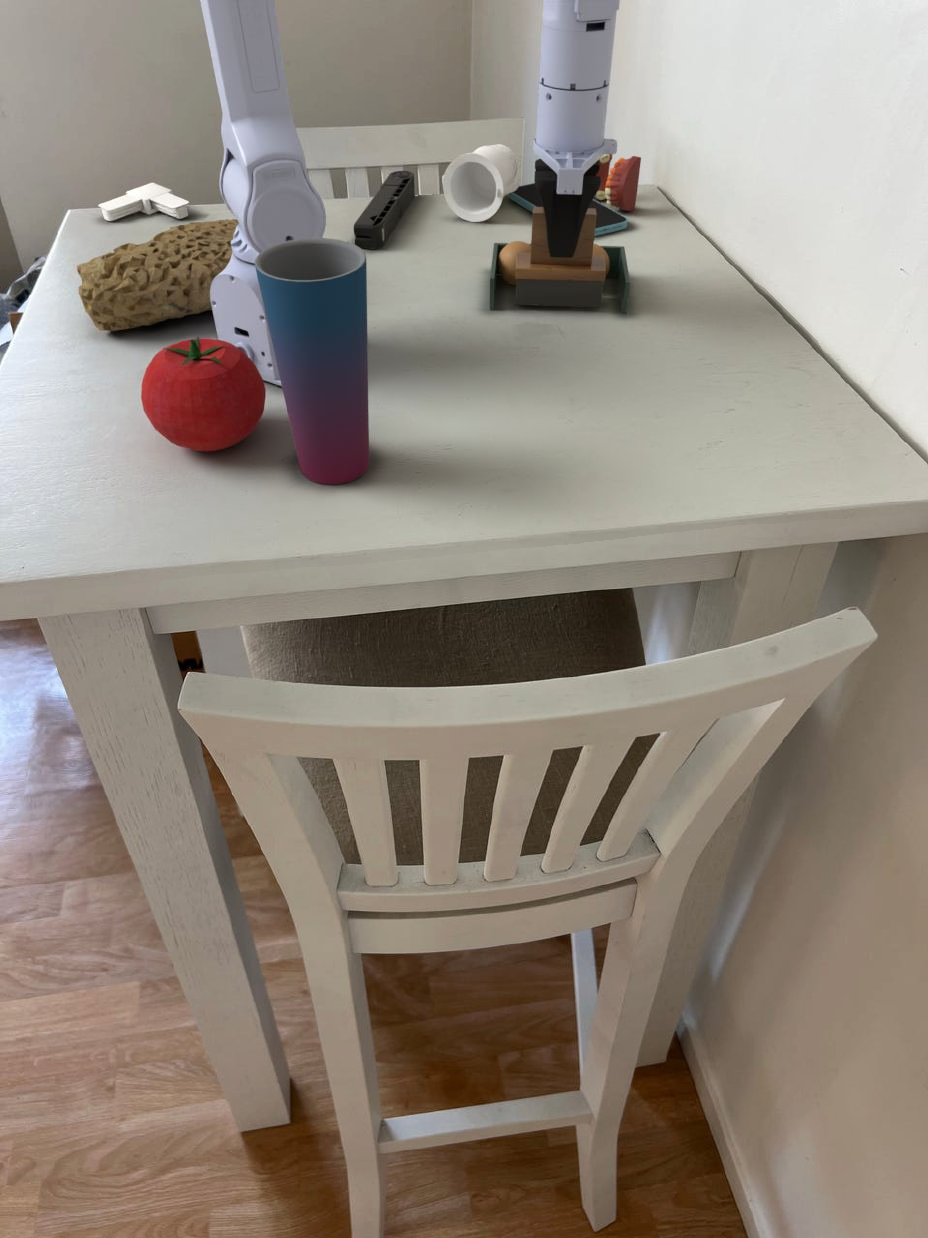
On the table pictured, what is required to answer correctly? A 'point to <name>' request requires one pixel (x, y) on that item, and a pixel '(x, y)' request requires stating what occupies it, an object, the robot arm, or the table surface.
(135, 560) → the table surface
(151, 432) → the table surface
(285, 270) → the cup
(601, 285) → the brush
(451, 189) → the downlight
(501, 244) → the green u-shaped pusher
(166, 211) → the corner connector
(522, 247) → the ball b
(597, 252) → the ball
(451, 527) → the table surface
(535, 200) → the smartphone
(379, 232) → the tablet stand
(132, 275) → the sponge
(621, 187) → the dentures
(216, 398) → the tomato
